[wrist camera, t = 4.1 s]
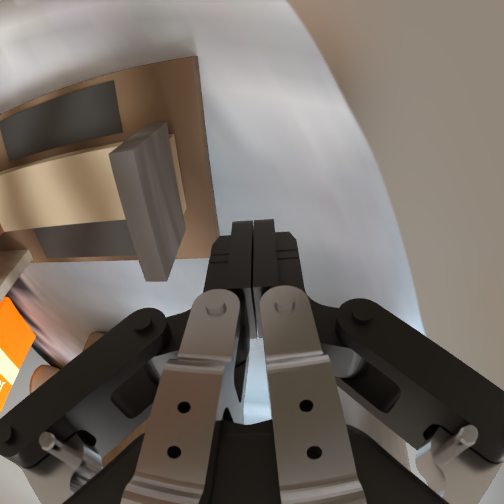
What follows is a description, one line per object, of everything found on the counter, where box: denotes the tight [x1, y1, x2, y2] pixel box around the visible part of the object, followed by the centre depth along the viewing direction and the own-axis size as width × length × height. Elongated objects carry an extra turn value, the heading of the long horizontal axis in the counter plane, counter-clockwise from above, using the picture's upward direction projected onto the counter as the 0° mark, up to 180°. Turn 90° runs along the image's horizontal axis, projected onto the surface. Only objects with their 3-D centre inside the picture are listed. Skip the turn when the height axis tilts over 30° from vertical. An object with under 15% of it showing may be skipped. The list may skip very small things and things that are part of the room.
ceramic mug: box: [30, 365, 61, 394], centre depth 38 cm, size 11×8×8 cm
